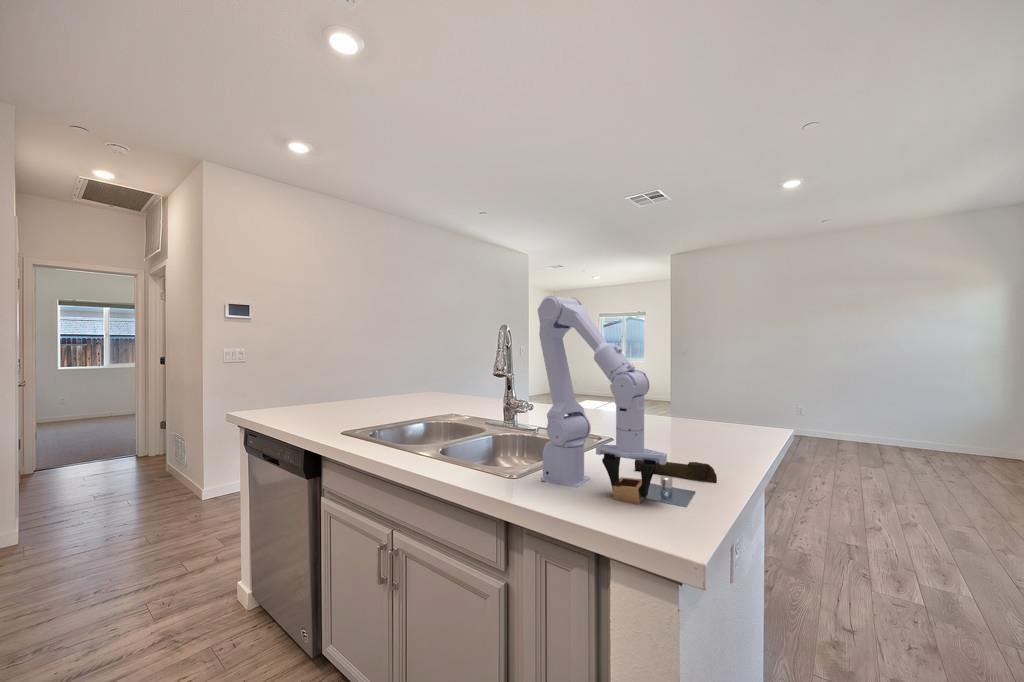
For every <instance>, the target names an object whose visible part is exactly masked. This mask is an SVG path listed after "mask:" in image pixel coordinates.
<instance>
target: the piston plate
mask: <svg viewBox="0 0 1024 682" xmlns="http://www.w3.org/2000/svg"><path fill="white" fill-rule="evenodd" d="M659 477H660V479H659V480H660V484H656V483H651V482H650V485H649V489H648V495H647V496H646V497H645V498H644V499H643V500H647V501H652V502H656V503H662V504H667V505H673V506H678V507H682V508H687V507H688V506H689V505H690V502H691V501H692V499H693V498H694V496H695V494H696V490H689V489H684V488H683V489H682V488H679V487H673V476H669V475H660V476H659Z"/></svg>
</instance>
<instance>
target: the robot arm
mask: <svg viewBox="0 0 1024 682" xmlns="http://www.w3.org/2000/svg"><path fill="white" fill-rule="evenodd" d="M587 310H588V309H587V307H586V306H585V305H583V304H582V301H581V300H580V299H578V298H575V297H563V296H555V295H552V294H551V295H550V294H549V295H547V296H546V297H544V298H543V299H542V301H541V302H540V304H539V307H538V309H537V315H538V319H539V334H538V335H539V340H540V347H541V350H542V355H543V356H542V357H543V361H544V365H545V366H544V367H545V372H546V376H547V381H548V386H549V390H550V391H549V392H550V397H551V401H552V406H551V408H550V409H549V410H548V412H547V413H546V418H547V424H546V425H547V426H546V433H547V436H548V439H549V441H547V442H546V443H545V445H544V447H543V451H542V478H541V479H540V480H541V481H542V482H547V483H553V484H557V485H562V486H563V485H564V486H569V487H573V488H579V487H580V486H582V485H583V484H585V483H587V481H589V480H590V479H591V476H589V475H588V476H587V475H585V443H586V442H587V441H586V440H587V438H588V436H590V434H591V430H592V429H591V428H592V427H591V422H590V420H589V418H588V416H586V414H585V413H586V412H585V409H584V406H582V405H581V404H580V403H579V402H578V401H577V400H576V396H575V391H574V387H573V383H572V377H571V371H570V368H569V362H568V357H567V353H566V349H565V344H564V340H563V339H564V337H565V335H566V334H567V333H568V332H569V331H570V330H571V329H572V328H573V329H575V331H576V332H577V333H578V335H580V336H581V338H582V339H583V340H584V341H585V342H586V343H587V345H588V346H589V347H590V348H591V350H592V351H593V352H594V356H593V360H594V362H595V363H596V364H597V365H598V367H599V369H601V371H602V372H603V374H604V375H605V376H606V378H607V379H608V380H609V382H610V383H611V384H609V385H610V386H609V387H610V391H611V394H612V396H613V397H614V401H615V402H614V404H615V428H616V429H615V444H602V443H599V444H596V445H595V455H598V456H601V455H603V457H602V460H601V461H602V465H604V468H605V470H606V472H607V474H608V477H609V481H610V484H611V488H612V490H611V491H613V487H612V486H613V485H614V484H615V483H616V482H617V481H618V480H619V479H620V465H621V458H623V459H631V460H634V461H635V460H642V461H644V462H643V463H642V464H640V469H641V471H640V474H641V475H640V476H641V477H640V478H641V479H642V488H641V495H642V497H644V498H645V497H646V496H647V495H648V489H649V485H650V483H651V481H652V478H653V475H654V474H655V473H654V472H655V469H656V467H657V466H658V463H659V464H662V465H665V464H666V463H667V462H668V460H667V459H668V458H667V457H668V456H667V455H668V454H667V453H666V452H662V451H656V450H653V449H652V450H651V449H648V448H645V396H646V395H647V394H648V393H649V391H650V380H649V378H648V376H647V374H646V372H644V371H642V370H639V369H636V366H635V365H634V364H633V363H631V362H630V361H629V360H628V359H627V357H626V356H625V355H624V354H623V352H622V351H623V348H622V347H621V346H620V345H616V344H615V343H613V342H612V343H609V342H607V340H606V339H605V337H604V336H603V334H602V333H601V331H600V330H599V329H598V327H597V325H596V324H595V323H594V321H593V319H591V317H590V315H589V314H588V312H587ZM541 481H540V482H541Z"/></svg>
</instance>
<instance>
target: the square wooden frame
mask: <svg viewBox="0 0 1024 682" xmlns="http://www.w3.org/2000/svg"><path fill="white" fill-rule="evenodd" d="M612 487H613V490H612V494H613V500H614V501H615V500H616V501H620V502H624V503H629V504H634V505H641V504H642V502H643V501H644V500H645V499H644V497H642V495H641V488H642V478H641V479H640V478H634V477H632V478H631V477H625V476H623V477H622V476H621V477H619V480H618V481H617V482H616V483H615V484H614V485H613V486H612V485H611V488H612Z"/></svg>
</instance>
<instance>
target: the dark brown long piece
mask: <svg viewBox="0 0 1024 682" xmlns="http://www.w3.org/2000/svg"><path fill="white" fill-rule="evenodd" d="M643 462H644V461H642V460H635V459H634V470H635V472H641V469H640V464H642V463H643ZM654 474H658V475H662V476H670V477H676V478H683V479H686V480H689V481H695V482H701V483H702V482H703V483H704V482H705V483H710V484H711V483H713V484H717V481H718V480H717V478H718V477H717V473H716V472H715V468H713V466H711V465H710V464H708V463H702V462H697V461H695V462H694V461H690V462H688V463H687V464H686V463H679V462H671V461H667V463H666V464H665V465H662V464H659V463H658V466H657V467H656V469H655V472H654Z"/></svg>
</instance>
